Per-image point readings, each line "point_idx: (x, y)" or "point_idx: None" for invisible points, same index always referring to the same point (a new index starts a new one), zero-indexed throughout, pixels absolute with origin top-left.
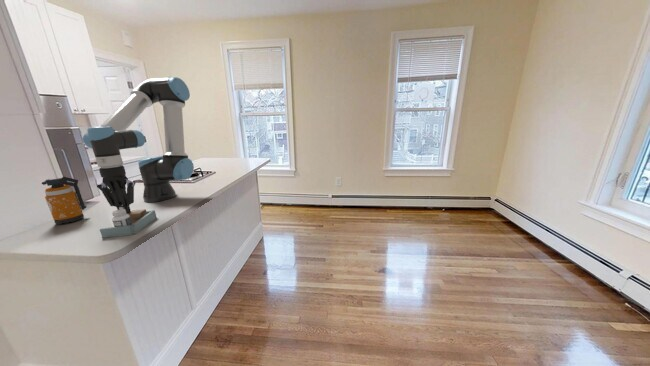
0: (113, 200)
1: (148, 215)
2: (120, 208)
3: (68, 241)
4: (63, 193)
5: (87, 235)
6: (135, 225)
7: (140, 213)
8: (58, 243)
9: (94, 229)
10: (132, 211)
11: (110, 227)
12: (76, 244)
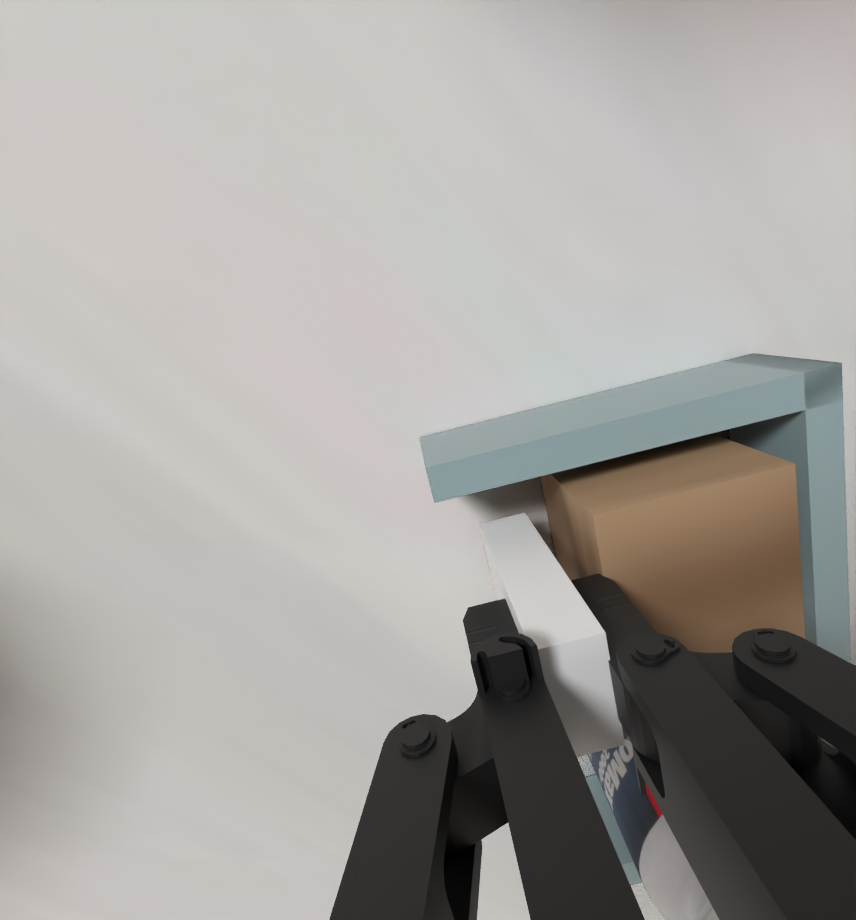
0: (407, 837)
1: (838, 535)
2: (571, 739)
3: (249, 881)
4: None
5: (304, 788)
6: None
7: (792, 599)
8: (195, 911)
9: (221, 680)
10: (630, 566)
11: (627, 869)
12: None
